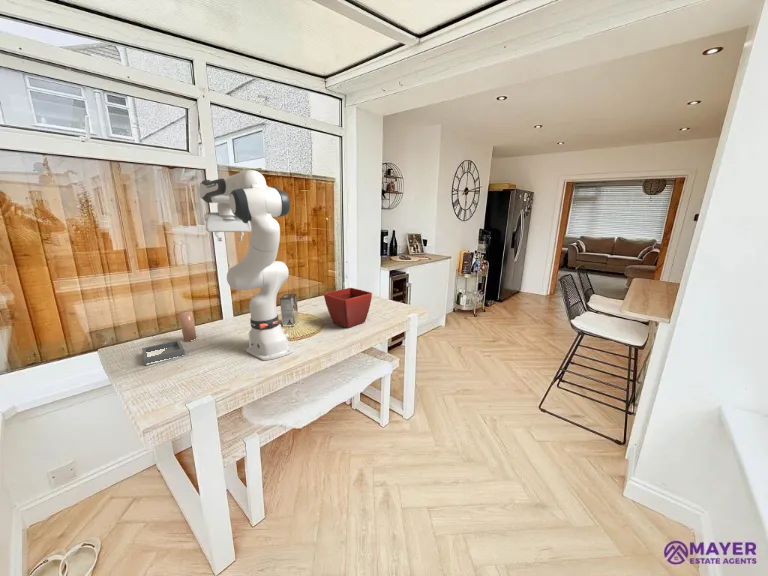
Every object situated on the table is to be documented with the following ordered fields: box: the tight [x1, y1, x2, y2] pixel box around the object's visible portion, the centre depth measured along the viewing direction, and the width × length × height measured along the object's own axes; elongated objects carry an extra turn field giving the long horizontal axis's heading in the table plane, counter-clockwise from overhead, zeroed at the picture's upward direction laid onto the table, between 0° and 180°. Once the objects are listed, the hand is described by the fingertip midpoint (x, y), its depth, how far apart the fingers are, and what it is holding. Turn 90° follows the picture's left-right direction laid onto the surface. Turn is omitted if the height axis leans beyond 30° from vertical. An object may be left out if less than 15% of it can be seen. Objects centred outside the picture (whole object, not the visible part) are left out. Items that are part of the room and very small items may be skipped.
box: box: [141, 339, 186, 365], centre depth 139 cm, size 14×14×3 cm
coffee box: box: [279, 293, 300, 326], centre depth 172 cm, size 9×6×16 cm
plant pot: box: [323, 287, 373, 329], centre depth 172 cm, size 19×19×17 cm
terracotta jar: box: [178, 310, 198, 342], centre depth 154 cm, size 6×6×14 cm
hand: (230, 241), depth 158 cm, fingers open, 8 cm apart
